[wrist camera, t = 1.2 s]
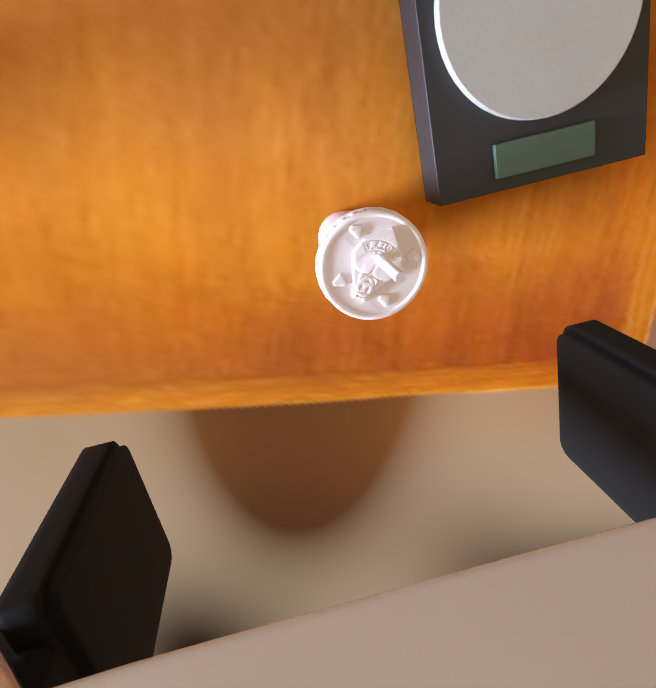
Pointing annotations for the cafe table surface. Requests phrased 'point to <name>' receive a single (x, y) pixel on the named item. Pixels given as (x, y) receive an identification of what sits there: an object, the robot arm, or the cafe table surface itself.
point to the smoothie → (370, 261)
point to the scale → (524, 89)
